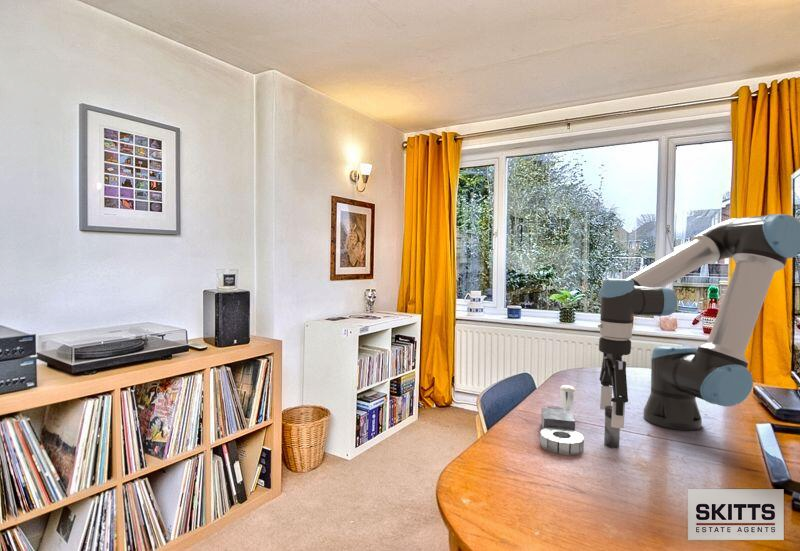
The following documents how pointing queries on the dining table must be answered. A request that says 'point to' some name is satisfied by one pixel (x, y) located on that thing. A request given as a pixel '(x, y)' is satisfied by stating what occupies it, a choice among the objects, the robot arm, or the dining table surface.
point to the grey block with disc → (560, 432)
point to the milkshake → (567, 397)
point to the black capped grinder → (610, 430)
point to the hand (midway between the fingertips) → (611, 418)
